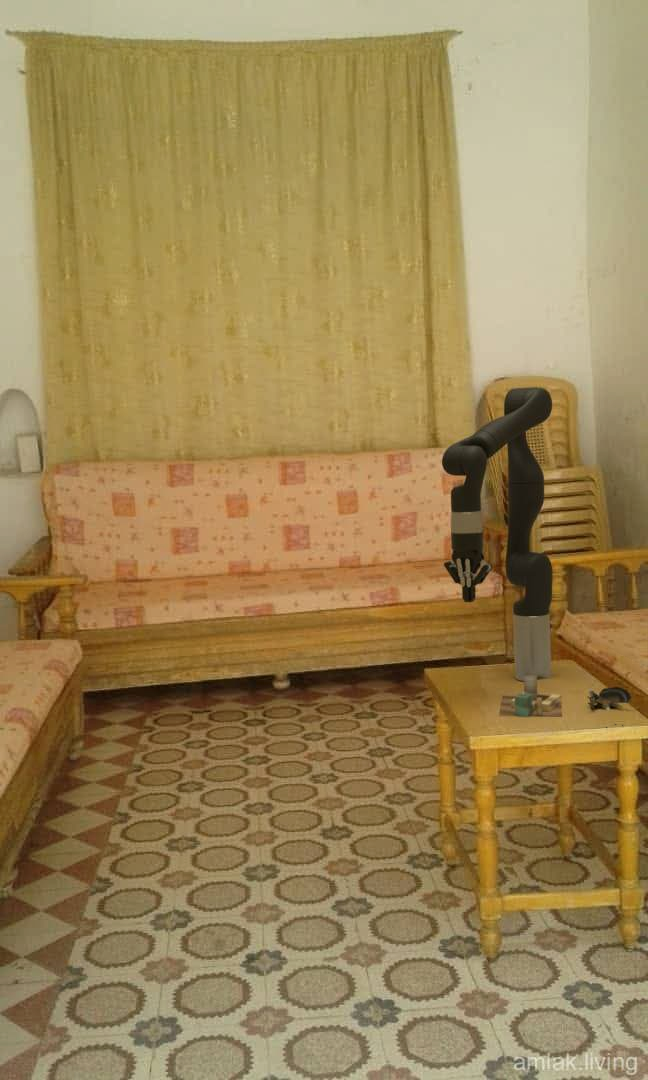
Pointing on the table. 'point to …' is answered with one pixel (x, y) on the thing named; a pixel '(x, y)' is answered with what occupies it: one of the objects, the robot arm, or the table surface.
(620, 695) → the brown squirrel figurine
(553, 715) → the post board
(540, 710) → the dowel pin
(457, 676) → the table surface
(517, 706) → the square frame with handle
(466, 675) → the table surface
